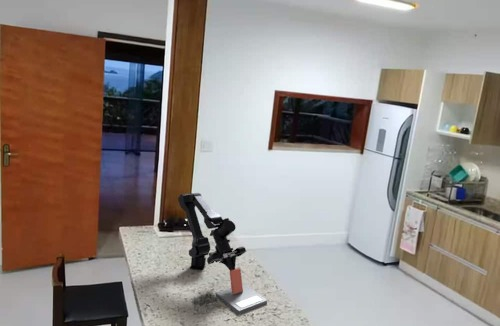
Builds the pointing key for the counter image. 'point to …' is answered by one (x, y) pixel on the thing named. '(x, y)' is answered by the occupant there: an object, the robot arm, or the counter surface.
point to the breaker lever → (236, 281)
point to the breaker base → (241, 299)
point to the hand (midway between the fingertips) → (233, 273)
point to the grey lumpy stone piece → (209, 303)
